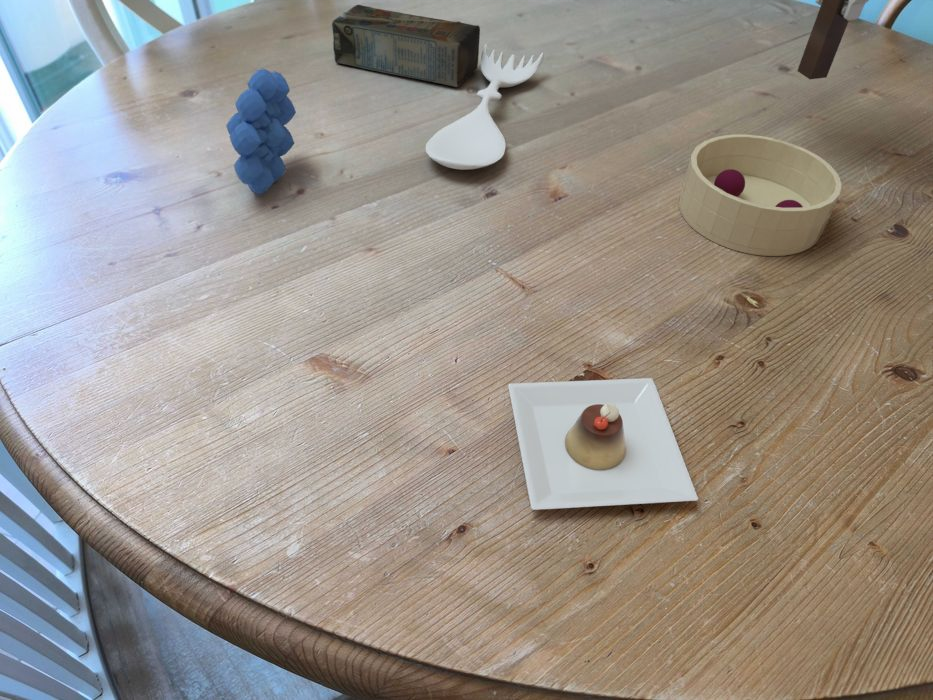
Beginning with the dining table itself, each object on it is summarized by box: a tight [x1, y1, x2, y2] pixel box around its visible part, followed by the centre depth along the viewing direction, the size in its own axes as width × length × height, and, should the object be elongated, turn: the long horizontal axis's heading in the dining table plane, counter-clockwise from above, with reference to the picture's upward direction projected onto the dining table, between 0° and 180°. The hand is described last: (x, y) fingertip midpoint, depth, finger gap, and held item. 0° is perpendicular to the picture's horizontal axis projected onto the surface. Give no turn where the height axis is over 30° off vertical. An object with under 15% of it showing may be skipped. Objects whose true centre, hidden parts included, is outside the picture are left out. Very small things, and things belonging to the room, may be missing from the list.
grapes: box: [226, 67, 297, 195], centre depth 78 cm, size 12×7×12 cm, turn 166°
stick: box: [797, 0, 850, 80], centre depth 84 cm, size 2×2×10 cm
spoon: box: [425, 43, 545, 171], centre depth 94 cm, size 9×32×4 cm, turn 165°
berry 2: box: [775, 200, 803, 208], centre depth 78 cm, size 3×3×3 cm
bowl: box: [678, 133, 843, 257], centre depth 80 cm, size 15×15×6 cm
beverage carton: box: [331, 4, 481, 88], centre depth 103 cm, size 8×19×7 cm, turn 69°
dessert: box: [507, 377, 699, 511], centre depth 56 cm, size 12×12×5 cm
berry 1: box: [714, 169, 745, 197], centre depth 82 cm, size 3×3×3 cm
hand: (835, 11), depth 82 cm, fingers closed on stick, 2 cm apart
